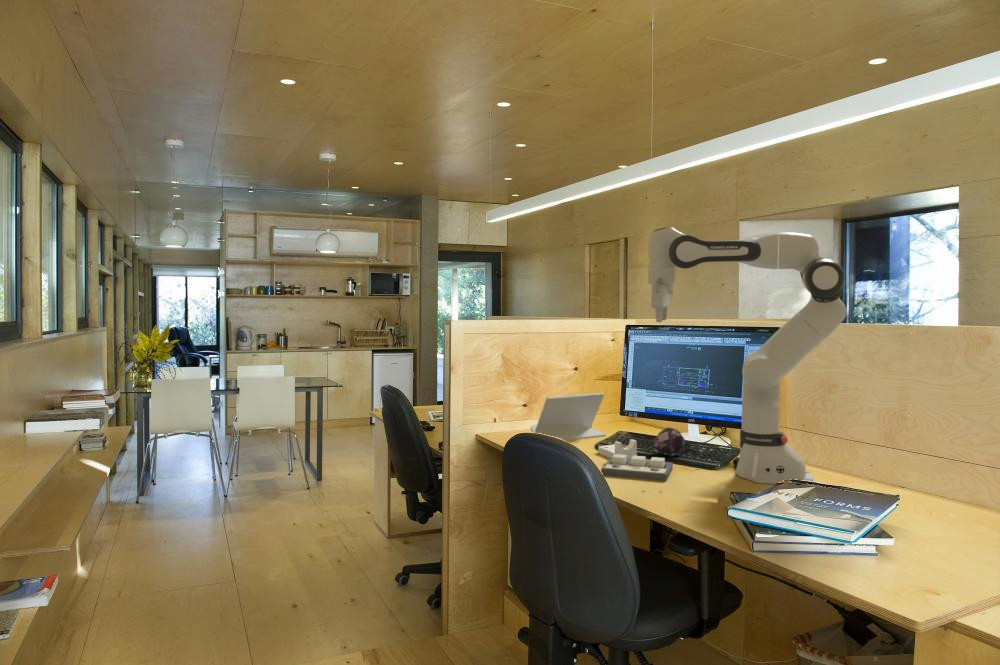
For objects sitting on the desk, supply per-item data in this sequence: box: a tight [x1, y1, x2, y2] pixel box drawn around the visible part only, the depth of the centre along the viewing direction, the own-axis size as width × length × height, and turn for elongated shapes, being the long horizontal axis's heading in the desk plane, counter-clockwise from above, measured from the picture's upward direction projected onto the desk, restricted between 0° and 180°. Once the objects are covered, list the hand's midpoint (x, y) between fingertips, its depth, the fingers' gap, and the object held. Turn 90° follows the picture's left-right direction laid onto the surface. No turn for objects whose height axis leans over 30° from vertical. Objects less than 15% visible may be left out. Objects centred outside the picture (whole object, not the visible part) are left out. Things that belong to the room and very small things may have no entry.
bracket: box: [597, 439, 638, 459], centre depth 243 cm, size 13×7×8 cm, turn 24°
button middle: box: [631, 455, 647, 467], centre depth 225 cm, size 4×4×2 cm
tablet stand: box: [530, 392, 607, 442], centre depth 279 cm, size 18×25×17 cm
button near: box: [649, 456, 666, 469], centre depth 222 cm, size 4×4×2 cm
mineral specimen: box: [653, 427, 686, 454], centre depth 247 cm, size 10×10×10 cm
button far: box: [612, 454, 627, 465], centre depth 227 cm, size 4×4×2 cm
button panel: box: [600, 457, 674, 482], centre depth 223 cm, size 20×14×3 cm
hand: (661, 321), depth 229 cm, fingers open, 8 cm apart
